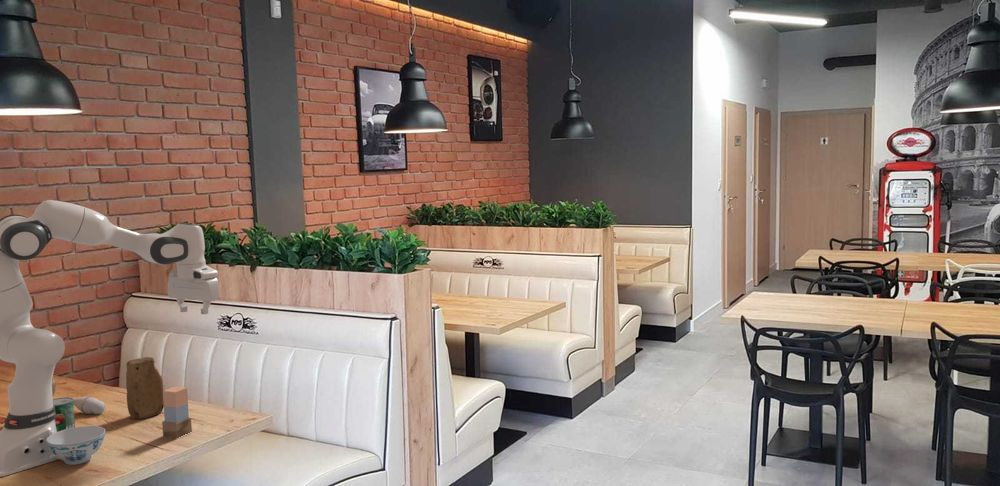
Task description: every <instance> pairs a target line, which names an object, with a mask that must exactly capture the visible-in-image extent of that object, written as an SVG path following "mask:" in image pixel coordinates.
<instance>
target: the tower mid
mask: <svg viewBox="0 0 1000 486" xmlns="http://www.w3.org/2000/svg"><path fill="white" fill-rule="evenodd" d="M189 413H190V412H189V402H188V403H187V404H184V405H182V406H179V407H177V408H173V407H166V406H164V407H163V414H164V421H165V422H171V423H179V422H181V421H184V420H186V419H188V418H190V415H189Z"/></svg>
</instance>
